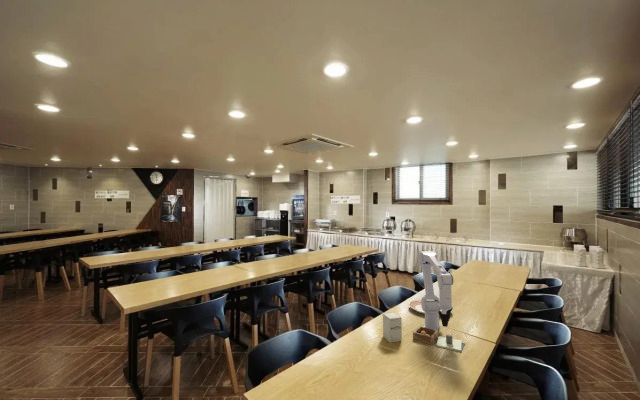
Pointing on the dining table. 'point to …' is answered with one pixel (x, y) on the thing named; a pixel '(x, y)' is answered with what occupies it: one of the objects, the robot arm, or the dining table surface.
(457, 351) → the mat
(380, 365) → the dining table surface
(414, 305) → the dinner plate
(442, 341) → the lid
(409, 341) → the dining table surface
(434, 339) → the box
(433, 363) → the dining table surface
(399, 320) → the supplement box
